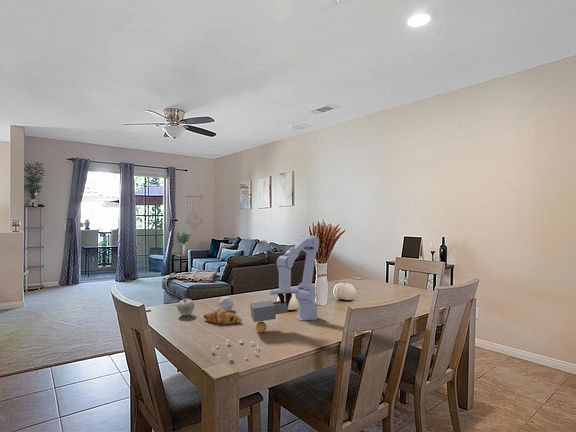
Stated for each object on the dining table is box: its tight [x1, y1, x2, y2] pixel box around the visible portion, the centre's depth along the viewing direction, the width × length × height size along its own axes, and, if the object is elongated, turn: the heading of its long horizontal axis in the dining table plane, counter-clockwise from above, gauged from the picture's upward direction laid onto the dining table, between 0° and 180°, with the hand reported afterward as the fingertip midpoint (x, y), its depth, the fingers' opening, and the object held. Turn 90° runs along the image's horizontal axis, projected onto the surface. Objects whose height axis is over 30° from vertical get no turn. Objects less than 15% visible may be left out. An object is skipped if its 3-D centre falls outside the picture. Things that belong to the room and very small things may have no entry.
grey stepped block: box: [249, 300, 289, 323], centre depth 166 cm, size 16×10×6 cm, turn 104°
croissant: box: [203, 308, 243, 325], centre depth 179 cm, size 21×10×8 cm, turn 77°
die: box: [217, 296, 235, 312], centre depth 199 cm, size 8×9×10 cm
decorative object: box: [177, 297, 195, 317], centre depth 189 cm, size 9×9×10 cm
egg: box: [255, 321, 268, 334], centre depth 162 cm, size 5×5×5 cm
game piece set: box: [210, 337, 260, 362], centre depth 140 cm, size 19×20×4 cm
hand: (284, 309), depth 168 cm, fingers closed on grey stepped block
